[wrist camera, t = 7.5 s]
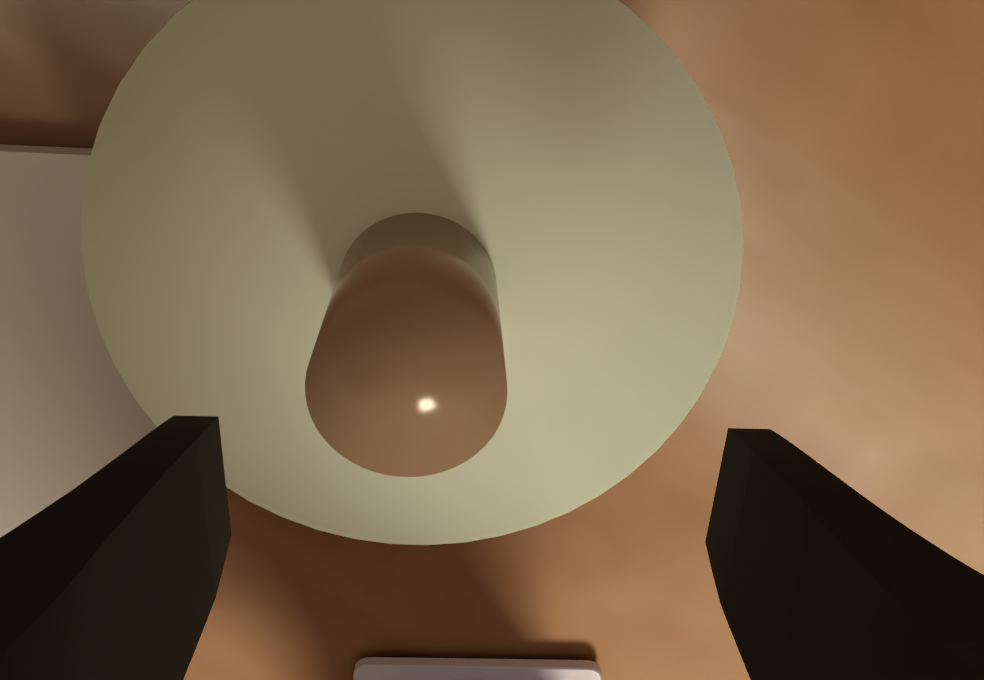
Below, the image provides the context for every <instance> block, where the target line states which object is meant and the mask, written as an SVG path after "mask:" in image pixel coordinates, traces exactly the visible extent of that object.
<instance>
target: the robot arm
mask: <svg viewBox="0 0 984 680" xmlns="http://www.w3.org/2000/svg"><path fill="white" fill-rule="evenodd" d="M230 537H231V529H230V519H229V510H228V501H227V491H226V482H225V473H224V463H223V454H222V445H221V435H220V426H219V417H218V416H175V415H174V416H173V417H171V418H170V419H168V420H166V421H165V422H164V423H162V424H161V425H159V426H158V427H157V428H155V429H154V430H152V431H151V432H150V433H148V434H147V435H146V436H144V437H143V438H142V439H140V440H139V441H138V442H136V443H135V444H134V445H133V446H131V447H130V448H129V449H127V450H126V451H125V452H123V453H122V454H121V455H119V456H118V457H117V458H115V459H114V460H113V461H111V462H110V463H108V464H107V465H106V466H104V467H103V468H102V469H100V470H99V471H98V472H96V473H95V474H93V475H92V476H91V477H89V478H88V479H87V480H85V481H84V482H83V483H81V484H80V485H78V486H77V487H76V488H74V489H73V490H72V491H70V492H69V493H67V494H66V495H64V496H63V497H61V498H60V499H58V500H57V501H55V502H54V503H52V504H51V505H49V506H48V507H46V508H45V509H43V510H42V511H40V512H39V513H37V514H36V515H34V516H33V517H31V518H30V519H28V520H27V521H25V522H24V523H22V524H21V525H19V526H18V527H16V528H15V529H13V530H12V531H10V532H8V533H7V534H5V535H4V536H2V537H0V680H183V678H184V676H185V673H186V671H187V668H188V666H189V664H190V661H191V659H192V656H193V654H194V651H195V649H196V646H197V644H198V641H199V638H200V636H201V633H202V631H203V628H204V626H205V623H206V621H207V618H208V616H209V613H210V610H211V608H212V605H213V603H214V600H215V597H216V593H217V590H218V586H219V582H220V578H221V574H222V571H223V566H224V562H225V558H226V554H227V550H228V545H229V541H230ZM706 546H707V551H708V555H709V559H710V564H711V568H712V572H713V576H714V580H715V584H716V588H717V592H718V595H719V599H720V603H721V606H722V608H723V611H724V614H725V616H726V619H727V622H728V624H729V627H730V629H731V632H732V634H733V637H734V639H735V642H736V644H737V647H738V649H739V652H740V654H741V657H742V659H743V662H744V664H745V667H746V669H747V672H748V674H749V677H750V679H751V680H984V575H983V574H981V573H979V572H977V571H976V570H974V569H972V568H970V567H969V566H967V565H965V564H964V563H962V562H960V561H959V560H957V559H955V558H954V557H952V556H951V555H949V554H947V553H946V552H944V551H943V550H941V549H940V548H938V547H937V546H935V545H933V544H932V543H930V542H929V541H927V540H926V539H924V538H923V537H921V536H920V535H918V534H917V533H915V532H913V531H912V530H910V529H909V528H907V527H906V526H904V525H903V524H902V523H900V522H899V521H897V520H896V519H894V518H893V517H891V516H890V515H889V514H887V513H886V512H884V511H883V510H881V509H880V508H879V507H877V506H876V505H874V504H873V503H872V502H870V501H869V500H867V499H866V498H865V497H863V496H862V495H861V494H859V493H858V492H856V491H855V490H854V489H852V488H851V487H850V486H848V485H847V484H846V483H844V482H843V481H842V480H840V479H839V478H837V477H836V476H835V475H833V474H832V473H831V472H829V471H828V470H827V469H825V468H824V467H823V466H821V465H820V464H819V463H817V462H816V461H815V460H813V459H812V458H811V457H809V456H808V455H807V454H805V453H804V452H803V451H801V450H800V449H799V448H797V447H796V446H794V445H793V444H792V443H790V442H789V441H787V440H786V439H784V438H783V437H781V436H780V435H778V434H777V433H775V432H774V431H772V430H770V429H733V428H728V432H727V437H726V442H725V447H724V452H723V457H722V462H721V467H720V472H719V477H718V482H717V487H716V492H715V497H714V502H713V507H712V512H711V517H710V522H709V527H708V532H707V537H706ZM353 680H602V675H601V669H600V666H599V665H598V664H597V663H595V662H594V661H589V660H546V659H474V658H401V657H367V658H363V659H361V660H359V661H358V662H357V663H356V664H355V668H354V674H353Z"/></svg>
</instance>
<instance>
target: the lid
mask: <svg viewBox="0 0 984 680" xmlns="http://www.w3.org/2000/svg"><path fill="white" fill-rule="evenodd" d="M743 246H744V245H743V230H742V215H741V203H740V199H739V194H738V189H737V184H736V179H735V175H734V170H733V165H732V162H731V159H730V157H729V154H728V151H727V148H726V146H725V143H724V140H723V137H722V135H721V132H720V129H719V126H718V124H717V122H716V120H715V118H714V116H713V114H712V112H711V111H710V109H709V107H708V105H707V103H706V101H705V99H704V97H703V96H702V94H701V92H700V90H699V88H698V86H697V84H696V83H695V82H694V80H693V79H692V78H691V76H690V75H689V74H688V72H687V71H686V70H685V68H684V67H683V65H682V64H681V63H680V61H679V60H678V59H677V57H676V56H675V55H674V53H673V52H672V51H671V49H670V48H669V47H668V46H667V45H666V44H665V43H664V42H663V41H662V40H661V39H660V38H659V37H658V36H657V35H656V34H655V33H654V32H653V31H652V30H651V28H650V27H649V26H648V25H647V24H646V23H645V22H644V21H643V20H642V19H641V18H640V17H639V16H638V15H637V14H636V13H634V12H633V11H632V10H630V9H629V8H628V7H626V6H625V5H624V4H622V3H621V2H620V1H618V0H192V1H191V2H190V3H188V4H187V5H186V6H185V7H183V8H182V9H181V10H179V11H178V12H177V13H176V14H175V15H174V16H173V17H172V18H171V19H170V20H169V21H168V22H167V24H166V25H165V26H164V27H163V28H162V29H161V30H160V31H159V32H158V33H157V34H156V35H155V36H154V37H153V38H152V40H151V41H150V42H149V43H148V44H147V45H146V46H145V47H144V48H143V50H142V51H141V53H140V54H139V56H138V57H137V59H136V60H135V62H134V63H133V65H132V66H131V68H130V69H129V70H128V72H127V73H126V75H125V76H124V78H123V79H122V81H121V82H120V84H119V85H118V87H117V89H116V92H115V94H114V96H113V98H112V100H111V102H110V104H109V106H108V108H107V111H106V113H105V115H104V117H103V119H102V121H101V123H100V125H99V129H98V132H97V135H96V139H95V142H94V145H93V149H92V152H91V155H90V159H89V162H88V165H87V171H86V178H85V185H84V192H83V199H82V206H81V252H82V258H83V265H84V272H85V278H86V285H87V291H88V295H89V298H90V302H91V305H92V308H93V312H94V315H95V318H96V322H97V325H98V329H99V331H100V334H101V336H102V338H103V340H104V343H105V345H106V347H107V349H108V352H109V354H110V356H111V358H112V360H113V363H114V365H115V367H116V369H117V370H118V372H119V374H120V375H121V377H122V378H123V380H124V382H125V383H126V385H127V387H128V388H129V390H130V392H131V393H132V395H133V396H134V398H135V400H136V401H137V402H138V404H139V405H140V406H141V407H142V409H143V410H144V411H145V412H146V414H147V415H148V416H149V417H150V419H151V420H152V421H153V423H154V424H155V425H156V426H157V427H158V426H159V425H161V424H162V423H164V422H165V421H166V420H168V419H170V418H171V417H173V416H174V415H175V416H218V417H219V426H220V435H221V445H222V454H223V463H224V473H225V482H226V487H227V488H229V489H230V490H232V491H233V492H235V493H237V494H238V495H240V496H242V497H243V498H245V499H246V500H248V501H250V502H252V503H254V504H256V505H258V506H260V507H262V508H264V509H266V510H268V511H270V512H272V513H275V514H277V515H279V516H281V517H283V518H286V519H288V520H291V521H294V522H297V523H300V524H302V525H305V526H308V527H311V528H314V529H316V530H319V531H324V532H328V533H332V534H336V535H340V536H344V537H348V538H352V539H358V540H365V541H373V542H380V543H387V544H407V545H437V544H451V543H464V542H470V541H476V540H481V539H487V538H493V537H498V536H502V535H506V534H509V533H513V532H516V531H520V530H523V529H527V528H530V527H534V526H536V525H539V524H541V523H544V522H546V521H549V520H551V519H554V518H556V517H558V516H561V515H563V514H566V513H568V512H570V511H572V510H574V509H576V508H577V507H579V506H581V505H583V504H585V503H587V502H588V501H590V500H592V499H594V498H596V497H598V496H600V495H601V494H602V493H604V492H605V491H607V490H608V489H610V488H611V487H613V486H614V485H615V484H617V483H618V482H620V481H621V480H623V479H624V478H625V477H627V476H628V475H630V474H631V473H632V472H633V471H634V470H635V469H636V468H638V467H639V466H640V465H641V464H642V463H643V462H644V461H646V460H647V459H648V458H649V457H650V456H651V455H652V454H653V453H655V452H656V451H657V450H658V449H659V447H660V446H661V445H662V444H663V443H664V442H665V441H666V440H667V438H668V437H669V436H670V435H671V434H672V433H673V432H674V431H675V429H676V428H677V427H678V426H679V425H680V424H681V423H682V421H683V420H684V418H685V417H686V415H687V414H688V412H689V411H690V410H691V408H692V407H693V405H694V404H695V402H696V401H697V399H698V398H699V397H700V395H701V394H702V392H703V390H704V388H705V386H706V384H707V382H708V380H709V379H710V377H711V375H712V373H713V371H714V369H715V367H716V365H717V363H718V361H719V359H720V356H721V354H722V351H723V348H724V345H725V343H726V340H727V337H728V334H729V331H730V329H731V326H732V323H733V318H734V314H735V309H736V304H737V300H738V295H739V290H740V286H741V273H742V260H743Z"/></svg>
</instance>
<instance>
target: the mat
mask: <svg viewBox="0 0 984 680" xmlns="http://www.w3.org/2000/svg"><path fill="white" fill-rule="evenodd" d="M91 152H92V148H70V147H48V146H27V145H5V144H0V537H2V536H4V535H5V534H7V533H8V532H10V531H12V530H13V529H15V528H16V527H18V526H19V525H21V524H22V523H24V522H25V521H27V520H28V519H30V518H31V517H33V516H34V515H36V514H37V513H39V512H40V511H42V510H43V509H45V508H46V507H48V506H49V505H51V504H52V503H54V502H55V501H57V500H58V499H60V498H61V497H63V496H64V495H66V494H67V493H69V492H70V491H72V490H73V489H74V488H76V487H77V486H78V485H80V484H81V483H83V482H84V481H85V480H87V479H88V478H89V477H91V476H92V475H93V474H95V473H96V472H98V471H99V470H100V469H102V468H103V467H104V466H106V465H107V464H108V463H110V462H111V461H113V460H114V459H115V458H117V457H118V456H119V455H121V454H122V453H123V452H125V451H126V450H127V449H129V448H130V447H131V446H133V445H134V444H135V443H136V442H138V441H139V440H140V439H142V438H143V437H144V436H146V435H147V434H148V433H150V432H151V431H152V430H154V429H155V428H157V426H156V425H155V424H154V423H153V421H152V420H151V419H150V417H149V416H148V415H147V414H146V412H145V411H144V410H143V409H142V407H141V406H140V405H139V404H138V402H137V401H136V400H135V398H134V396H133V395H132V393H131V392H130V390H129V388H128V387H127V385H126V383H125V382H124V380H123V378H122V377H121V375H120V374H119V372H118V370H117V369H116V367H115V365H114V363H113V360H112V358H111V356H110V354H109V352H108V349H107V347H106V345H105V343H104V340H103V338H102V336H101V334H100V331H99V329H98V325H97V322H96V318H95V315H94V312H93V308H92V305H91V302H90V298H89V295H88V291H87V285H86V278H85V272H84V265H83V258H82V252H81V206H82V199H83V192H84V185H85V178H86V171H87V165H88V162H89V159H90V155H91Z"/></svg>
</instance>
